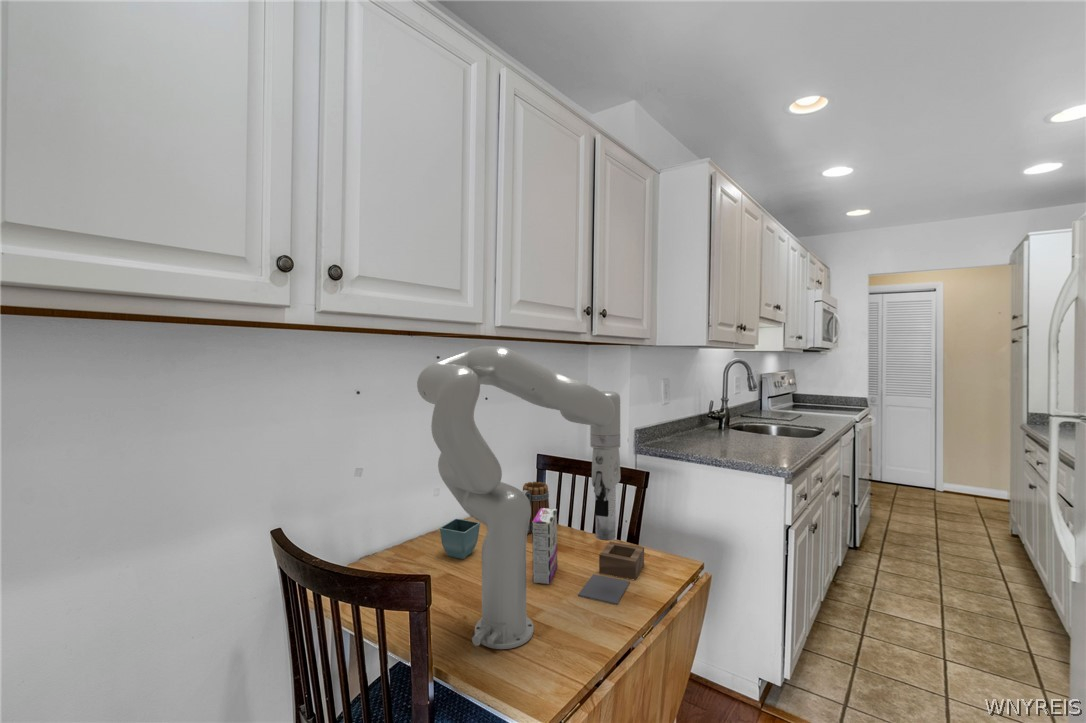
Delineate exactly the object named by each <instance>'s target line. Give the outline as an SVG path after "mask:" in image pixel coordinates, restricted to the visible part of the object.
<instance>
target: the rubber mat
mask: <svg viewBox="0 0 1086 723" xmlns="http://www.w3.org/2000/svg"><path fill="white" fill-rule="evenodd" d="M630 584H631V581H630V580H627V579H626V580H625V579H620V578H615V577H609V576H607V575H606V576H605V575H600V574H595V573H593V574H592V575H591V576H590V578H589V579H588V580H587V582H586V583H585V584H584V586H582V588H581V590H580V591H579V592H578V593H577V597H580V598H585V599H590V600H594V601H597V602H603V603H607V604H612V605H615V604H616V606H618V604H620V603H619V602H620V601H621V599H622V598H623V596H624V594H625V593H626V591H625V590H628V587H629V585H630ZM621 597H622V598H621Z"/></svg>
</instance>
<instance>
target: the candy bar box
mask: <svg viewBox="0 0 1086 723" xmlns="http://www.w3.org/2000/svg"><path fill="white" fill-rule="evenodd" d="M557 511H558V509H557V508H550V507H549V508H540V510H539V512H538V513H537V515H536V517H535V518H534V520H533V521H532V534H531V537H532V541H531V542H532V583H533V584H537V583H540V585H551V584H552V581H553V578H554V575H555V573H556V570H557V568H558V521H557V520H558V515H557V513H558V512H557Z"/></svg>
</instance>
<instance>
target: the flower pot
mask: <svg viewBox="0 0 1086 723" xmlns="http://www.w3.org/2000/svg"><path fill="white" fill-rule="evenodd" d="M480 525H481V522H480V521H473V520H468V519H467V520H466V519H463V518H462V519H461V518H454V519H452V520H451V521H449V522H448V523H446V524H444V525H442V526H440V527H439V533H440V538H441V539H440V540H441V544H442V547H443V548H442V549H444V551H445V553H446V555H447V556H448V557H451V558H456V559H459V560H463V559H465V558H466V557H468V556H469V555H470V554H472V553H473V552H474V550H475V548H476V546H477V543H478V539H479V534H480V527H481V526H480Z"/></svg>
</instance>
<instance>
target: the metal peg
mask: <svg viewBox="0 0 1086 723" xmlns="http://www.w3.org/2000/svg"><path fill="white" fill-rule="evenodd" d="M601 487H604V488H605V486H604V485H601ZM616 487H617V485H615V486H614V487H613V488H612V489H610V490H609V489H608V494H607V500H608V502H609V515H608V517H604V516H597V515H596V514H595V538H596V539H598V540H600V541H613V540H615V539H616V530H617V529H616V527H617V526H616V523H617V522H616V521H617V520H616V518H617V517H616V516H617V514H616V511H617V510H616V504H617V503H616V491H617V489H616ZM601 492H603V493H604V490H601Z"/></svg>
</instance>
